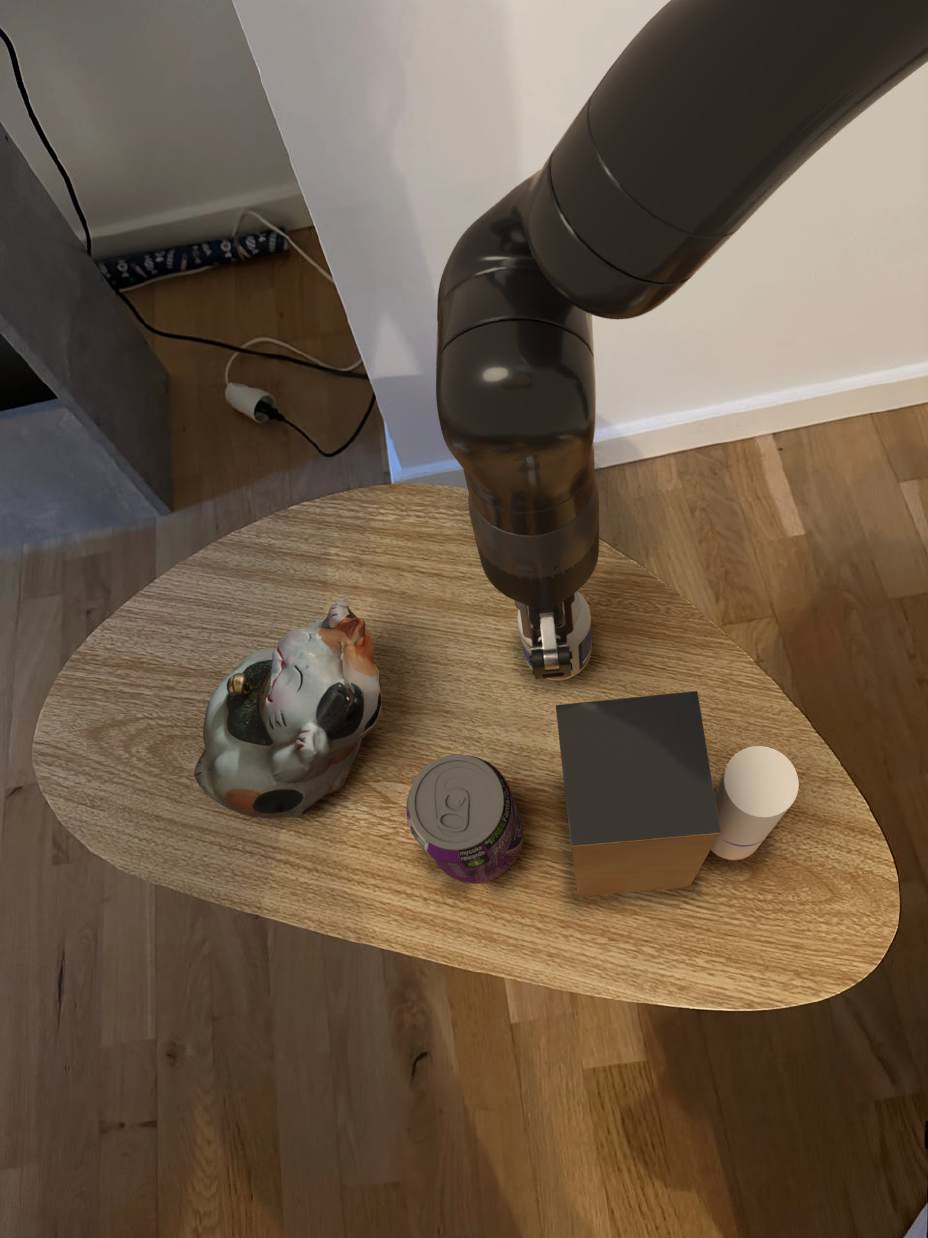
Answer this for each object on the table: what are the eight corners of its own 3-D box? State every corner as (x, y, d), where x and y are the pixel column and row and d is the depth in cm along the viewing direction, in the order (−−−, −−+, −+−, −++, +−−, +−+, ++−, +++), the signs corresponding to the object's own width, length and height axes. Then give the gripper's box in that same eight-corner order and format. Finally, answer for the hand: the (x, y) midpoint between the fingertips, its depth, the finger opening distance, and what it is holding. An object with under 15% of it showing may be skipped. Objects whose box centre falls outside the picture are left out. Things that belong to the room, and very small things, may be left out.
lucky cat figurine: (233, 643, 85) (265, 543, 75) (370, 691, 87) (421, 600, 77) (170, 803, 76) (196, 715, 66) (325, 853, 78) (375, 775, 68)
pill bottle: (566, 606, 83) (562, 553, 74) (605, 658, 81) (605, 610, 72) (510, 641, 83) (499, 592, 74) (547, 695, 81) (540, 651, 72)
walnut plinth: (673, 777, 77) (696, 692, 59) (690, 887, 74) (719, 834, 56) (566, 787, 78) (555, 707, 59) (577, 897, 75) (570, 847, 56)
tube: (728, 788, 76) (756, 731, 62) (774, 829, 75) (813, 780, 61) (689, 830, 75) (708, 782, 62) (735, 872, 74) (766, 832, 60)
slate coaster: (696, 692, 59) (697, 690, 58) (719, 834, 56) (720, 832, 55) (555, 707, 59) (555, 704, 59) (570, 847, 56) (570, 846, 56)
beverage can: (515, 892, 75) (501, 865, 64) (420, 876, 76) (390, 847, 65) (531, 797, 78) (519, 755, 67) (439, 782, 79) (412, 739, 68)
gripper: (613, 622, 58) (610, 712, 74) (585, 408, 64) (587, 533, 80) (481, 637, 59) (506, 722, 75) (464, 423, 65) (490, 544, 80)
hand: (548, 624), depth 77 cm, fingers closed on pill bottle, 5 cm apart
